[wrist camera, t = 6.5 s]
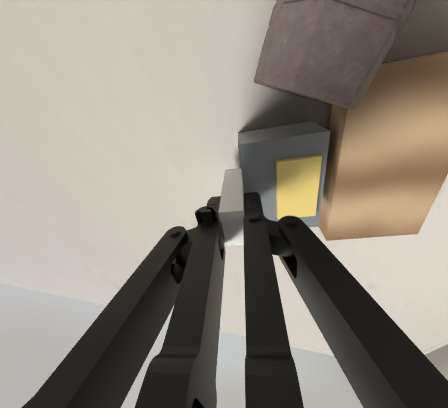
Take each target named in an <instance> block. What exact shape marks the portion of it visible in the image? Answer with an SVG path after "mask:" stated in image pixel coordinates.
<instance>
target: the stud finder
mask: <svg viewBox="0 0 448 408" xmlns="http://www.w3.org/2000/svg"><path fill="white" fill-rule="evenodd" d="M329 139H330V130H328V129H326V128H324V127H322V126H320V125H318V124H317V123H315V122H313V121H308V122H302V123H296V124H289V125H283V126H277V127H271V128H264V129H258V130H252V131H246V132H239V133H238V147H239V155H240V163H241V171H242V179H243V187H244V193H250V192H257V193H259V194H260V197H261V203H262V208H263V213H264V216H265V217H266V218H267V219H269V220H272V221H279V219H281V218H282V217H284V216H296V217H298V218H300V219H301V220H302V221H303V222H304V223H305V224H306V225H307V226H308V227H316V226H319V218H320V210H321V202H322V194H323V186H324V178H325V171H326V163H327V155H328V147H329Z"/></svg>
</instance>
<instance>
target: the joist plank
mask: <svg viewBox="0 0 448 408" xmlns="http://www.w3.org/2000/svg"><path fill="white" fill-rule="evenodd" d="M329 130H330V139H329V147H328V155H327V163H326V171H325V178H324V186H323V194H322V202H321V210H320V218H319V228H320V230H321V232H322V234H323V235H324V237H325V239H326V241H327V240H341V239H355V238H369V237H383V236H397V235H410V234H418V233H419V231H420V229H421V227H422V225H423V222H424V220H425V218H426V216H427V214H428V212H429V210H430V208H431V206H432V204H433V202H434V200H435V198H436V196H437V194H438V192H439V190H440V188H441V186H442V184H443V182H444V180H445V178H446V176H447V174H448V51H443V52H438V53H433V54H428V55H423V56H418V57H412V58H407V59H402V60H397V61H392V62H387V63H382V64H381V66H380V68H379V69H378V71H377V73H376V75H375V76H374V78H373V80H372V81H371V83H370V85H369V87H368V88H367V90H366V92H365V93H364V95H363V97H362V98H361V100H360V102H359V104H358V105H357V107H355V108H354V109H350V108H345V107H341V106H337V105H333V104H332V108H331V116H330V125H329Z"/></svg>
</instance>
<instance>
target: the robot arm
mask: <svg viewBox="0 0 448 408" xmlns="http://www.w3.org/2000/svg"><path fill="white" fill-rule="evenodd" d="M195 215H196V219H197V222H198V226H197V227H196V228H193V229H190V230H187V231H186V229H185V228H184V227H181V226H177V227H173V228H171V229H170V230H168V231H167V232H166V233H165V234H164V236H163V237H162V238H161V239H160V241H159V242H158V243H157V244H156V246H155V247H154V248H153V249H152V251H151V252H150V253H149V254H148V256H147V257H146V258H145V259H144V260H143V262H142V263H141V264H140V265H139V267H138V268H137V269H136V270H135V272H134V273H133V274H132V275H131V277H130V278H129V279H128V280H127V282H126V283H125V284H124V285H123V287H122V288H121V289H120V290H119V291H118V293H117V294H116V295H115V296H114V298H113V299H112V300H111V301H110V303H109V304H108V305H107V306H106V308H105V309H104V310H103V311H102V313H101V314H100V315H99V316H98V318H97V319H96V320H95V321H94V322H93V324H92V325H91V326H90V327H89V329H88V330H87V331H86V332H85V334H84V335H83V336H82V337H81V339H80V340H79V341H78V342H77V344H76V345H75V346H74V347H73V348H72V350H71V351H70V352H69V353H68V355H67V356H66V357H65V358H64V360H63V361H62V362H61V363H60V365H59V366H58V367H57V368H56V370H55V371H54V372H53V373H52V375H51V376H50V377H49V378H48V380H47V381H46V382H45V383H44V384H43V386H42V387H41V388H40V389H39V391H38V392H37V393H36V394H35V396H34V397H33V398H31V399H30V400H29V401H28V402H27V403H26V404H25V405H24V406H23V407H22V408H120V407H121V405H122V404H123V402H124V400H125V398H126V396H127V394H128V392H129V390H130V388H131V386H132V384H133V382H134V381H135V378H136V377H137V375H138V373H139V371H140V369H141V367H142V365H143V363H144V361H145V359H146V358H147V356H148V354H149V352H150V350H151V348H152V346H153V344H154V342H155V340H156V338H157V336H158V335H159V333H160V331H161V329H162V327H163V325H164V323H165V321H166V319H167V317H168V315H169V313H170V312H171V310H172V308H173V306H174V309H173V312H172V315H171V319H170V322H169V326H168V329H167V333H166V336H165V340H164V343H163V347H162V349H161V351H160V353H159V354H158V355H157V356H155V357H154V358H153V359H152V361H151V362H150V364H149V366H148V369H147V371H146V375H145V377H144V380H143V384H142V387H141V390H140V393H139V396H138V399H137V402H136V406H135V408H216V404H217V398H216V397H217V395H216V382H215V381H216V365H217V353H218V340H219V339H218V338H219V328H220V315H221V302H222V289H223V276H224V264H225V247H224V242H225V245H226V246H229V245H243V244H244V275H245V314H246V358H245V394H246V395H245V396H246V408H304V407H303V402H302V396H301V391H300V386H299V381H298V376H297V372H296V367H295V363H294V360H293V357H292V355H291V351H290V346H289V340H288V335H287V330H286V325H285V319H284V314H283V309H282V303H281V298H280V293H279V288H278V282H277V277H276V272H275V267H274V261H273V256H272V254H273V255H278V256H279V257H280V260H281V261H282V263H283V265H284V267H285V268H286V270H287V272H288V274H289V276H290V277H291V279H292V281H293V283H294V285H295V286H296V288H297V290H298V292H299V293H300V295H301V297H302V299H303V301H304V302H305V304H306V306H307V308H308V309H309V311H310V313H311V315H312V317H313V318H314V320H315V322H316V324H317V325H318V327H319V329H320V331H321V333H322V334H323V336H324V338H325V340H326V341H327V343H328V345H329V347H330V349H331V350H332V352H333V354H334V356H335V358H336V359H337V361H338V363H339V365H340V366H341V368H342V370H343V372H344V373H345V375H346V377H347V379H348V381H349V382H350V384H351V386H352V388H353V390H354V391H355V393H356V395H357V397H358V398H359V400H360V402H361V404H362V406H363V407H364V408H448V381H447V379H445V378H444V376H443V375H442V374H441V373H440V372H439V371H438V370H437V369H436V367H435V366H434V365H433V364H432V363H431V362H430V361H429V360H428V359H427V357H426V356H425V355H424V354H423V353H422V352H421V351H420V350H419V349H418V348H417V346H416V345H415V344H414V343H413V342H412V341H411V340H410V339H409V338H408V336H407V335H406V334H405V333H404V332H403V331H402V330H401V329H400V328H399V327H398V325H397V324H396V323H395V322H394V321H393V320H392V319H391V318H390V317H389V316H388V314H387V313H386V312H385V311H384V310H383V309H382V308H381V307H380V306H379V304H378V303H377V302H376V301H375V300H374V299H373V298H372V297H371V296H370V295H369V293H368V292H367V291H366V290H365V289H364V288H363V287H362V286H361V285H360V284H359V282H358V281H357V280H356V279H355V278H354V277H353V276H352V275H351V274H350V273H349V271H348V270H347V269H346V268H345V267H344V266H343V265H342V264H341V263H340V261H339V260H338V259H337V258H336V257H335V256H334V255H333V254H332V253H331V252H330V250H329V249H328V248H327V247H326V246H325V245H324V244H323V243H322V242H321V241H320V239H319V238H318V237H317V236H316V235H315V234H314V233H313V232H312V231H311V229H310V228H309V227H308V226H307V225H306V224H305V223H304V222H303V221H302V220H301V219H300V218H298V217H296V216H284V217H282V218H281V219H279V221H272V220H269V219H267V218H266V217H265V216H264V213H263V208H262V203H261V197H260V194H259V193H257V192H250V193H244V187H243V179H242V171H241V168H237V169H230V170H225V175H224V181H223V187H222V193H221V196H218V197H211V198H210V199H209V200H208V203H207V206H205V207H202V208H199V209H198V210H197V211H196V212H195ZM174 304H175V305H174Z"/></svg>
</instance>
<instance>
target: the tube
mask: <svg viewBox="0 0 448 408" xmlns="http://www.w3.org/2000/svg"><path fill="white" fill-rule="evenodd" d="M414 4H415V0H277V1H276V4H275V6H274V8H273V12H272V15H271V19H270V22H269V28H268V30H267V33H266V37H265V41H264V44H263V48H262V52H261V55H260V59H259V63H258V67H257V71H256V75H255V79H254V81H255V83H257V84H260V85H264V86H267V87H270V88H274V89H277V90H280V91H284V92H287V93H291V94H294V95H298V96H301V97H305V98H309V99H313V100H316V101H320V102H324V103H329V104H333V105H337V106H341V107H345V108H350V109H354V108H355V107H357V105H358V104H359V102H360V100H361V98H362V97H363V95H364V93H365V92H366V90H367V88H368V87H369V85H370V83H371V81H372V80H373V78H374V76H375V75H376V73H377V71H378V69H379V68H380V66H381V64H382V62H383V61H384V59H385V57H386V55H387V53H388V52H389V50H390V48H391V46H392V45H393V43H394V41H395V36H396V32H398V31H400V30H401V29H402V27H403V25H404V23H405V22H406V20H407V18H408V16H409V14H410V13H411V11H412V9H413V7H414Z"/></svg>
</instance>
